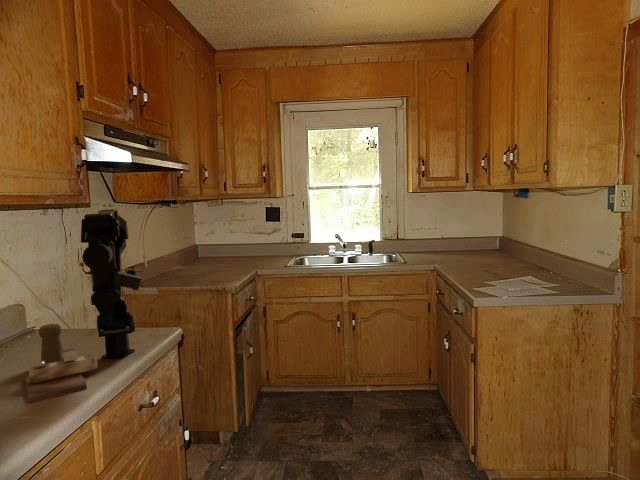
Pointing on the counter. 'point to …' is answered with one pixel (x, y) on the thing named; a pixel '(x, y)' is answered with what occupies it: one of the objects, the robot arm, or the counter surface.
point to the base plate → (54, 386)
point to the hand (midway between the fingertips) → (108, 325)
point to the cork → (50, 343)
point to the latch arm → (63, 368)
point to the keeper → (64, 356)
